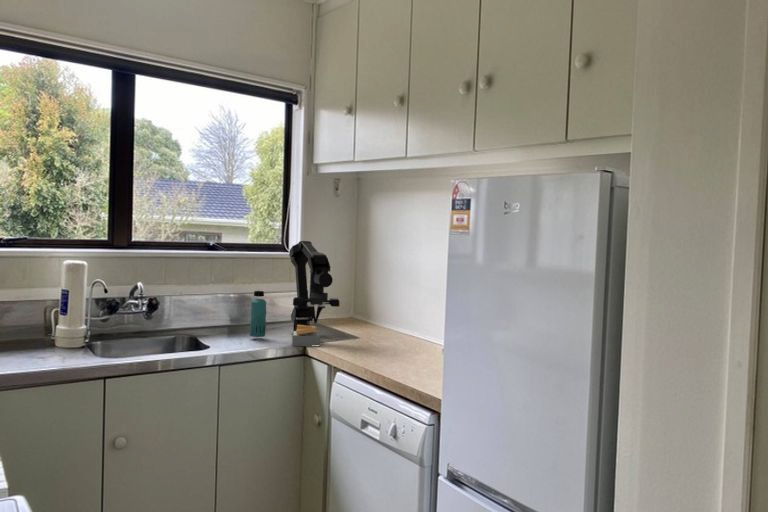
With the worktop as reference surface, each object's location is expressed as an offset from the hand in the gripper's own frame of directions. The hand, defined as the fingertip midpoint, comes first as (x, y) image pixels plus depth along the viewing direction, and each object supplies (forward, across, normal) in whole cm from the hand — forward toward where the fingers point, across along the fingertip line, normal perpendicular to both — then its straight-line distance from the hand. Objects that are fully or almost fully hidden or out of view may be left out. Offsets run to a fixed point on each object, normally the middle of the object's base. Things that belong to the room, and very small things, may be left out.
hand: (315, 322), depth 236 cm
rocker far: (+2, -3, 0) cm, 4 cm away
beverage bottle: (+8, -23, +4) cm, 25 cm away
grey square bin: (+8, -4, -3) cm, 9 cm away
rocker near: (+2, -3, -6) cm, 7 cm away
